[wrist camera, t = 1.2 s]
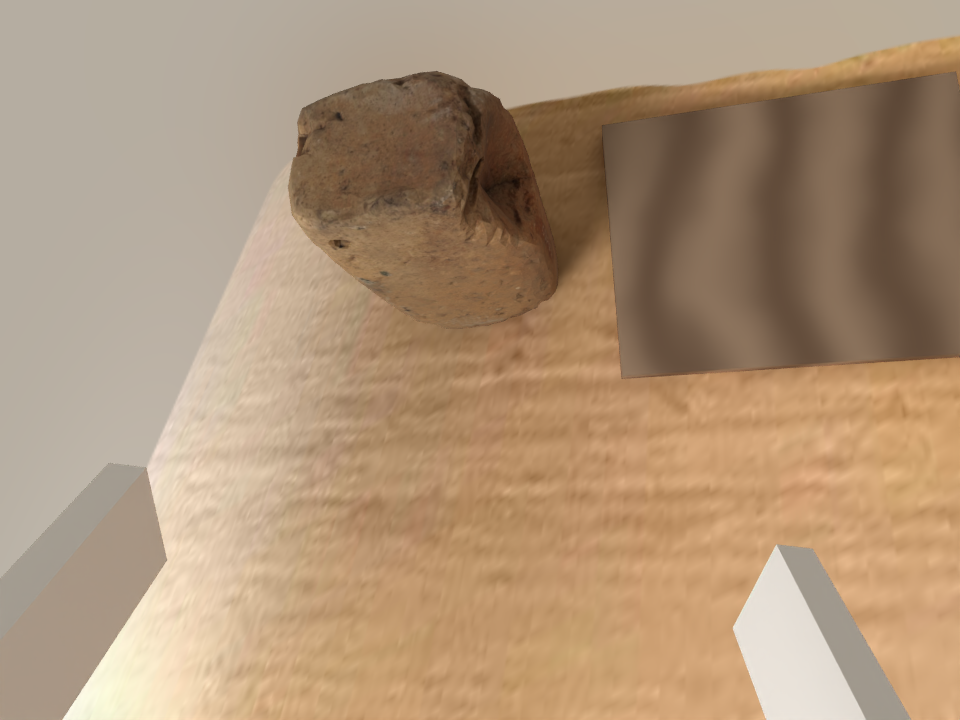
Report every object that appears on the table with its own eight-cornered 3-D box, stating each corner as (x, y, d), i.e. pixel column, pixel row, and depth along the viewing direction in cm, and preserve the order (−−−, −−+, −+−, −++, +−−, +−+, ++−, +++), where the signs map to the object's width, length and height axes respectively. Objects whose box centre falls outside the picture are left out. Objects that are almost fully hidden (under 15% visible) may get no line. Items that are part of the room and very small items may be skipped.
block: (420, 336, 43) (268, 241, 24) (416, 241, 44) (269, 78, 25) (566, 321, 41) (528, 203, 22) (557, 221, 42) (515, 26, 23)
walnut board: (942, 86, 38) (955, 71, 37) (993, 354, 35) (1010, 350, 34) (602, 136, 43) (602, 125, 41) (621, 378, 40) (622, 375, 38)
